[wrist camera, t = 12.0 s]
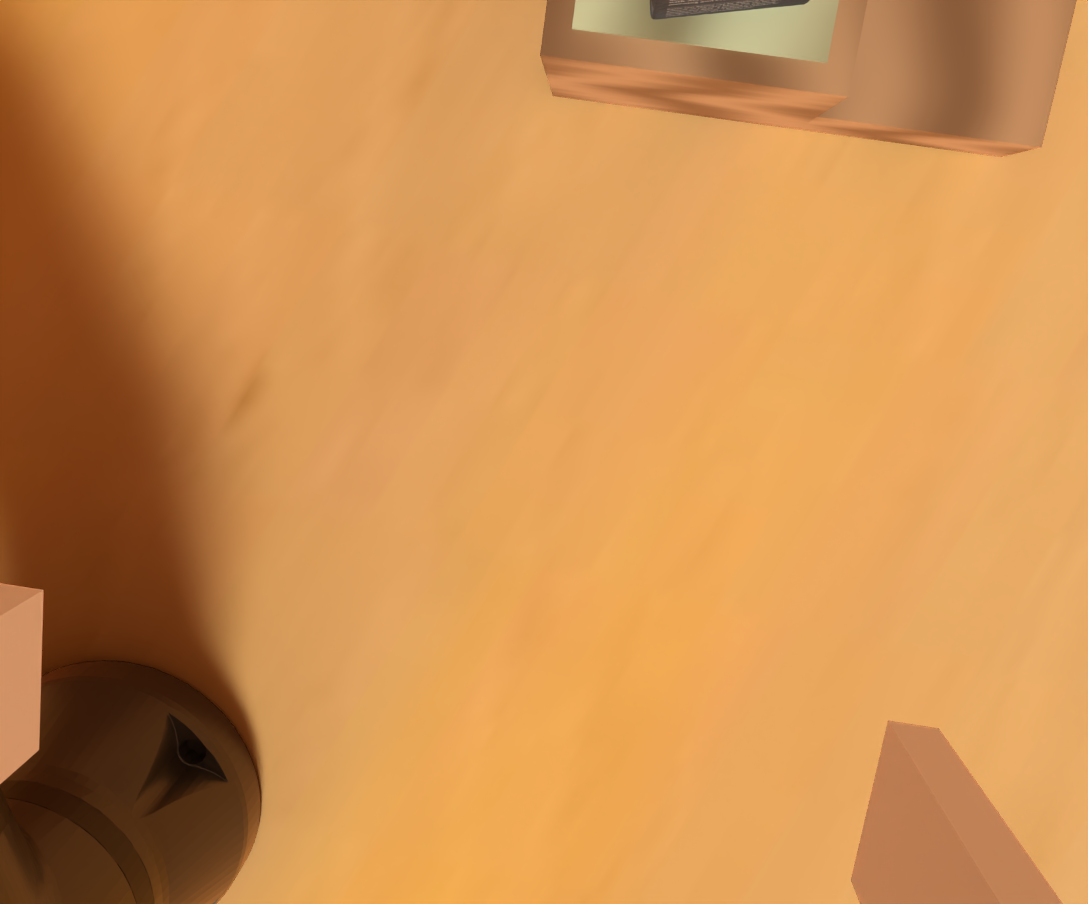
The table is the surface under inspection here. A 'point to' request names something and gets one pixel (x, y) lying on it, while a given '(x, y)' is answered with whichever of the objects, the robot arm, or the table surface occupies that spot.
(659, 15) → the box
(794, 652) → the table surface
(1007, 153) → the stand
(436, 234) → the table surface
